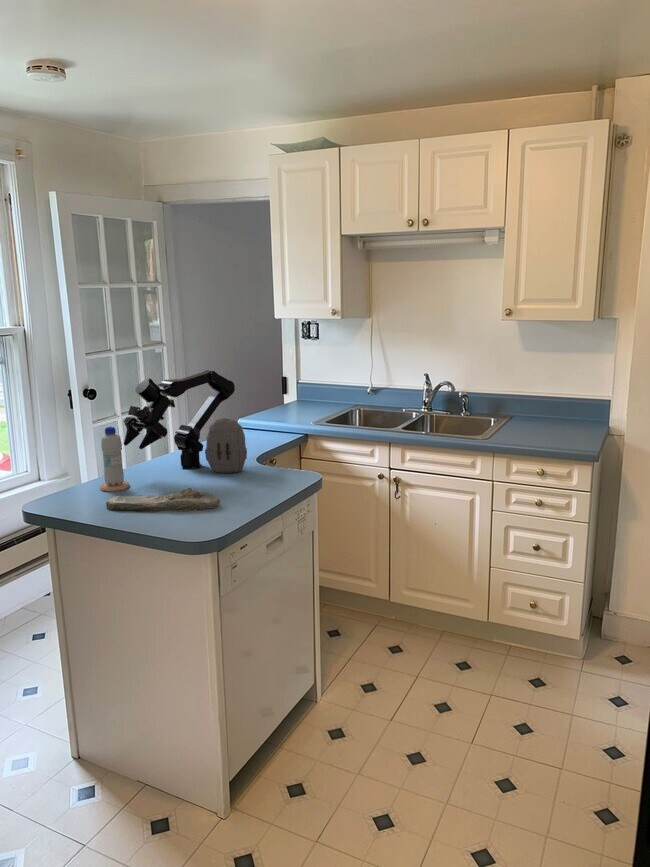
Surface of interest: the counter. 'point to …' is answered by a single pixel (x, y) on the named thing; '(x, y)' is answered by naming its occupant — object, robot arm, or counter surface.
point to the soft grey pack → (226, 446)
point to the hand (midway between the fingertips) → (132, 446)
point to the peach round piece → (114, 488)
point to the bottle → (112, 457)
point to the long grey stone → (165, 501)
